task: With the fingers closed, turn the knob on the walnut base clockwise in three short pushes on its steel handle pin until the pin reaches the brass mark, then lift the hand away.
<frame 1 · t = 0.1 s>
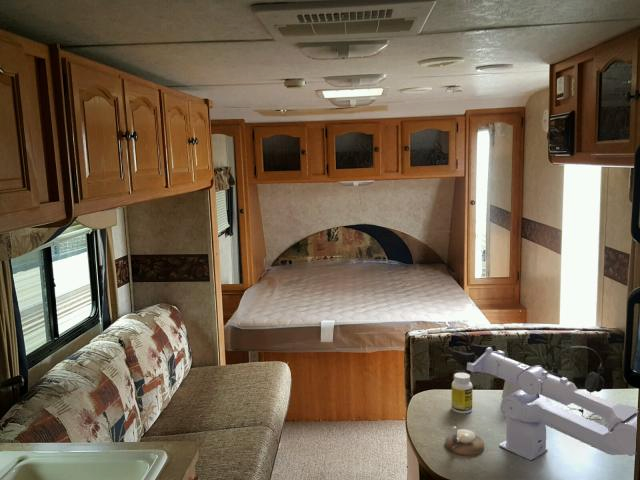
hand: (461, 351, 156), 22 cm above the table, tool horizontal, fingers open, 7 cm apart
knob: (462, 430, 145), point 5 cm above the table, hinge at 0.0°
pill bottle: (461, 410, 167), on the table
headphones: (578, 413, 162), on the table
base: (464, 445, 146), on the table
salt shaker: (511, 405, 169), on the table
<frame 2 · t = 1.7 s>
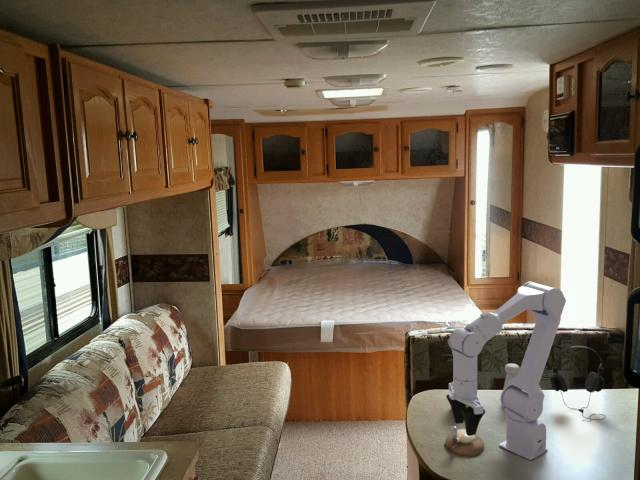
hand: (465, 428, 137), 9 cm above the table, tool pointing down, fingers open, 6 cm apart
nothing on the table moved.
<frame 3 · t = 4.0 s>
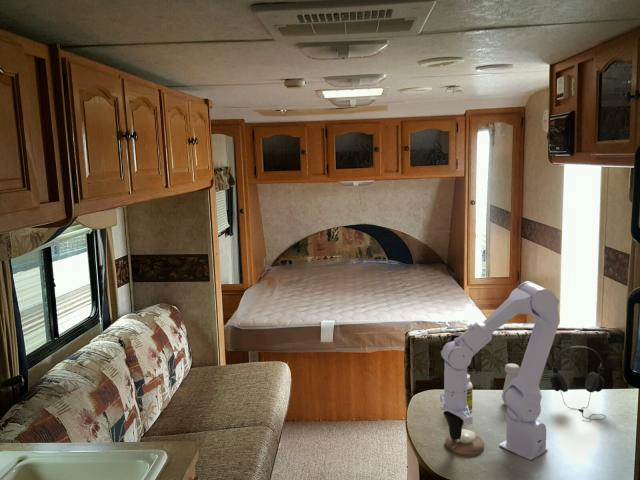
hand: (455, 438, 142), 4 cm above the table, tool pointing down, fingers closed, pressing on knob
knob: (462, 430, 145), point 5 cm above the table, hinge at 1.7°, touching gripper
everything else where it was.
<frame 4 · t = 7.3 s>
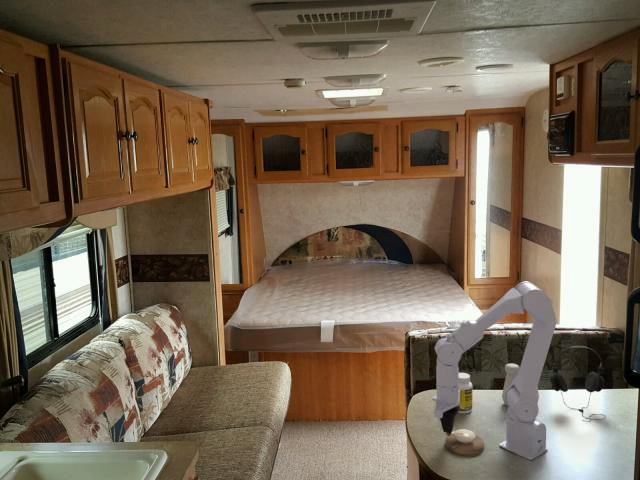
hand: (447, 432, 146), 4 cm above the table, tool pointing down, fingers closed, pressing on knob
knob: (460, 429, 146), point 5 cm above the table, hinge at 60.9°, touching gripper
everything else where it was.
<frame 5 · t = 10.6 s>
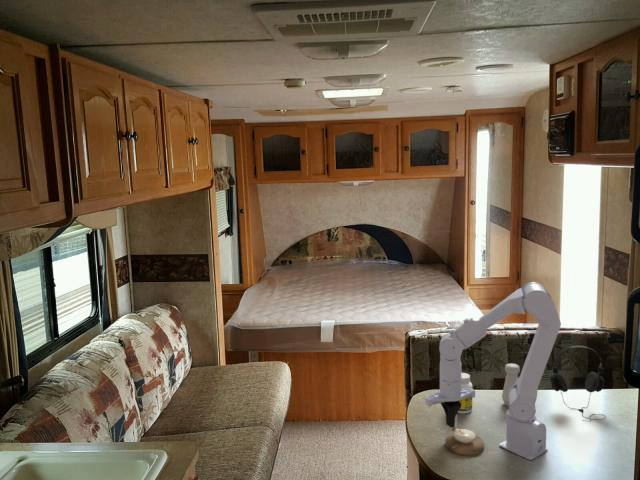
hand: (450, 425, 149), 4 cm above the table, tool pointing down, fingers closed, pressing on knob
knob: (462, 427, 147), point 5 cm above the table, hinge at 102.4°, touching gripper
everything else where it was.
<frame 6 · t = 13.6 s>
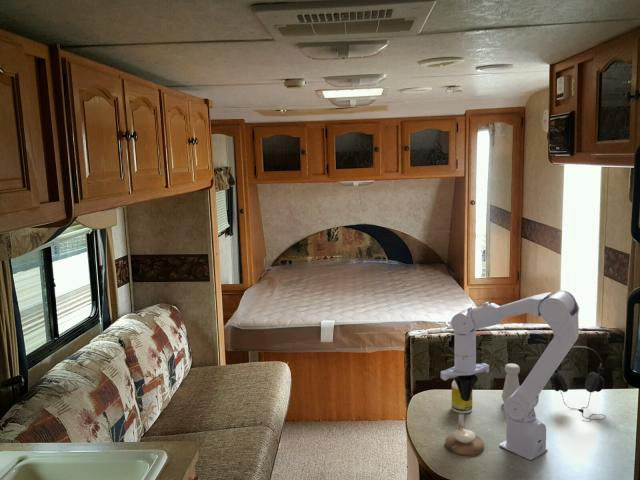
hand: (465, 399, 153), 9 cm above the table, tool pointing down, fingers closed
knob: (463, 427, 147), point 5 cm above the table, hinge at 130.0°
everything else where it was.
at the end: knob at +130° (first picture: +0°); the gripper is holding nothing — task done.
